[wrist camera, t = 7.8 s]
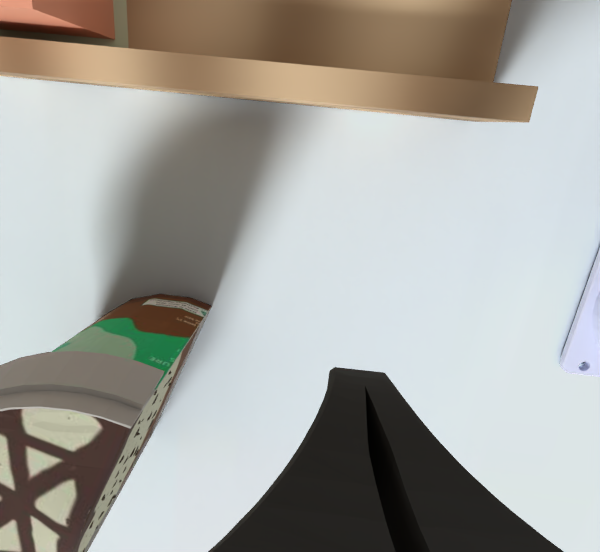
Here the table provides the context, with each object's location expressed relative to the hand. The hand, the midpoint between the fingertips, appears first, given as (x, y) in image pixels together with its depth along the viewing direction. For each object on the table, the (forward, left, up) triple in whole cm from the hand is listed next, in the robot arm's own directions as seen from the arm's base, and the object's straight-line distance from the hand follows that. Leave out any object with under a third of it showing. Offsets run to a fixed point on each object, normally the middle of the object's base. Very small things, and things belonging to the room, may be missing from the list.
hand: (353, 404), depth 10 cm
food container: (+11, +6, -11) cm, 16 cm away
